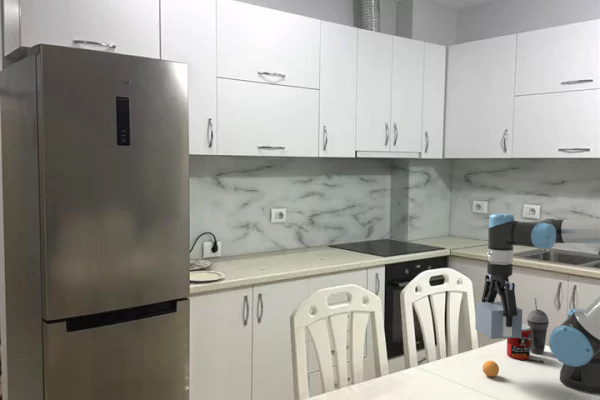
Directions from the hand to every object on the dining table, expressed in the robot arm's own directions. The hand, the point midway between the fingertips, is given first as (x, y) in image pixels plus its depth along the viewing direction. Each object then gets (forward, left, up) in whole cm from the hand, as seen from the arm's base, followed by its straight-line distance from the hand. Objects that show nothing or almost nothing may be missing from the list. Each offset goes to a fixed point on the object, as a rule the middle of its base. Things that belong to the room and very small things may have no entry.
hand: (497, 331), depth 174 cm
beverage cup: (-20, -25, -15) cm, 35 cm away
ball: (+2, 0, -12) cm, 12 cm away
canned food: (-12, -20, -15) cm, 28 cm away
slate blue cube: (0, 0, -1) cm, 1 cm away
